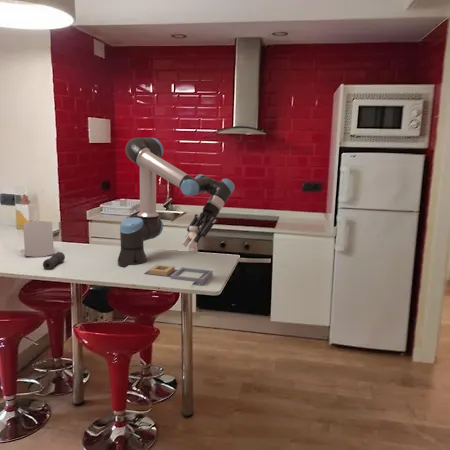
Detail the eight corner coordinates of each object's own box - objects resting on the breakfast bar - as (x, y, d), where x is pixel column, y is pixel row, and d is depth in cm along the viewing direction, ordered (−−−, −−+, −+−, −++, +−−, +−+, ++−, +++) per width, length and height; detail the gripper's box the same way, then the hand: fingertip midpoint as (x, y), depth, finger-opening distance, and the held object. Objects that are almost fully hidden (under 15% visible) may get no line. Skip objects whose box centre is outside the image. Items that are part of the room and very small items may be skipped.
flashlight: (52, 270, 231) (52, 260, 230) (42, 270, 232) (41, 259, 230) (65, 261, 246) (64, 251, 245) (55, 261, 247) (54, 251, 245)
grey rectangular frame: (170, 281, 218) (170, 275, 217) (181, 273, 231) (181, 267, 231) (203, 285, 214) (203, 279, 213) (212, 276, 227) (212, 270, 226)
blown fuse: (187, 252, 218) (187, 227, 216) (190, 250, 222) (190, 225, 219) (195, 253, 217) (195, 227, 214) (198, 251, 221) (198, 226, 218)
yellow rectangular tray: (143, 276, 224) (143, 269, 223) (153, 269, 235) (153, 263, 235) (170, 280, 220) (170, 273, 219) (179, 272, 231) (179, 266, 231)
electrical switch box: (53, 253, 270) (51, 218, 268) (54, 256, 256) (51, 219, 254) (26, 255, 264) (24, 219, 263) (25, 258, 251) (22, 221, 249)
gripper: (229, 214, 221) (203, 254, 213) (205, 209, 232) (179, 247, 224) (221, 204, 216) (194, 244, 208) (197, 199, 228) (171, 238, 219)
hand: (187, 246), depth 216 cm, fingers closed on blown fuse, 4 cm apart
